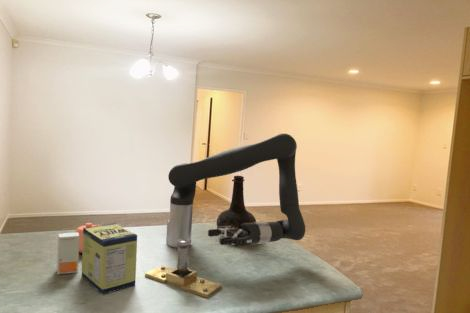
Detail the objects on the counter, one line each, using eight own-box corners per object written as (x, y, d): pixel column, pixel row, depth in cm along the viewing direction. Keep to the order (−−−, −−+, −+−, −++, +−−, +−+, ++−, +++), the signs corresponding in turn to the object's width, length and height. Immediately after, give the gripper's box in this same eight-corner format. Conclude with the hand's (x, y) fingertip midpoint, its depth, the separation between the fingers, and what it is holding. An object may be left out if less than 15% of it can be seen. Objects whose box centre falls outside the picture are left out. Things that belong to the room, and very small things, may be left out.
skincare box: (56, 275, 108) (58, 237, 107) (56, 270, 112) (57, 233, 111) (78, 272, 111) (79, 235, 110) (77, 267, 115) (78, 231, 114)
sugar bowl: (62, 252, 128) (63, 224, 127) (91, 241, 141) (92, 216, 140) (88, 258, 123) (89, 230, 122) (115, 247, 136) (116, 221, 135)
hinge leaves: (145, 276, 112) (145, 267, 112) (161, 268, 119) (162, 259, 118) (207, 298, 100) (207, 287, 100) (221, 287, 107) (222, 278, 107)
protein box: (112, 268, 116) (114, 222, 115) (136, 285, 105) (138, 234, 104) (80, 276, 109) (82, 227, 108) (102, 295, 98) (104, 241, 97)
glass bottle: (258, 234, 165) (262, 175, 163) (251, 246, 148) (256, 180, 146) (221, 229, 169) (225, 172, 167) (210, 240, 152) (214, 176, 150)
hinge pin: (171, 282, 109) (173, 241, 108) (180, 277, 113) (182, 237, 112) (182, 286, 107) (185, 244, 106) (191, 281, 111) (193, 240, 110)
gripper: (245, 217, 129) (205, 220, 120) (268, 228, 116) (225, 232, 108) (243, 237, 129) (203, 241, 121) (266, 250, 117) (223, 256, 109)
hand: (214, 237), depth 115 cm, fingers open, 8 cm apart
